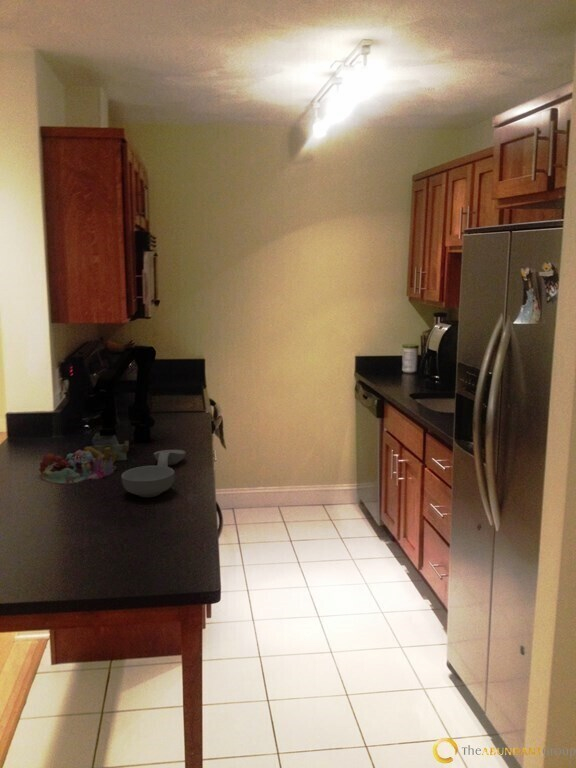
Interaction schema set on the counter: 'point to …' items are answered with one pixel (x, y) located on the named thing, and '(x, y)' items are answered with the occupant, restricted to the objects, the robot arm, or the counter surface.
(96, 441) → the medicine box
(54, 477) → the candy landscape model
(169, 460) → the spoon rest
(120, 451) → the pair of wooden bars
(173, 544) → the counter surface
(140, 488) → the cereal bowl
